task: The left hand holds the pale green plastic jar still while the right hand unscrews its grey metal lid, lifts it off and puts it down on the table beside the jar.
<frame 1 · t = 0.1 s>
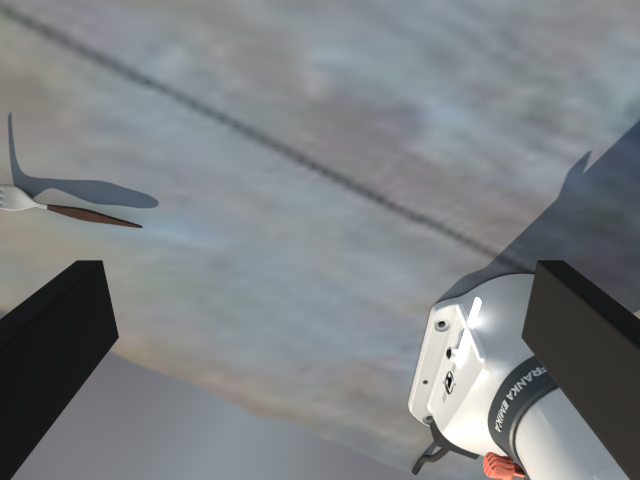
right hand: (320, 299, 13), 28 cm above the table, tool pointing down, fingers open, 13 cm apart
fork: (63, 207, 41), on the table
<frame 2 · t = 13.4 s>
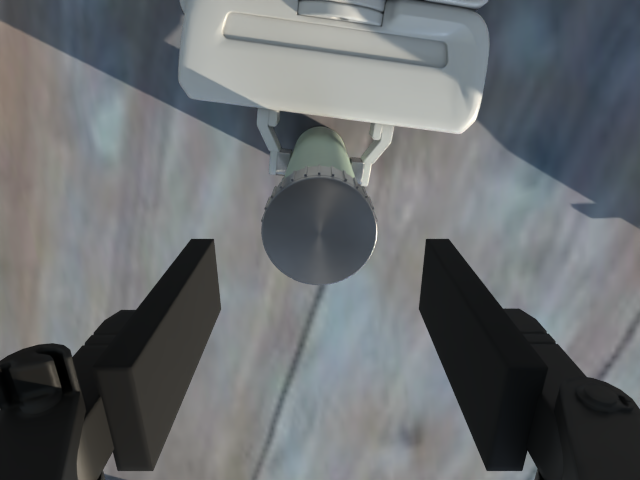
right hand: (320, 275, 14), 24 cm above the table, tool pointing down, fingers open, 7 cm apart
left hand: (318, 179, 31), fingers closed on jar, 4 cm apart
jar: (319, 152, 37), on the table, touching left hand
lid: (319, 231, 18), point 20 cm above the table, screwed on, not yet turned
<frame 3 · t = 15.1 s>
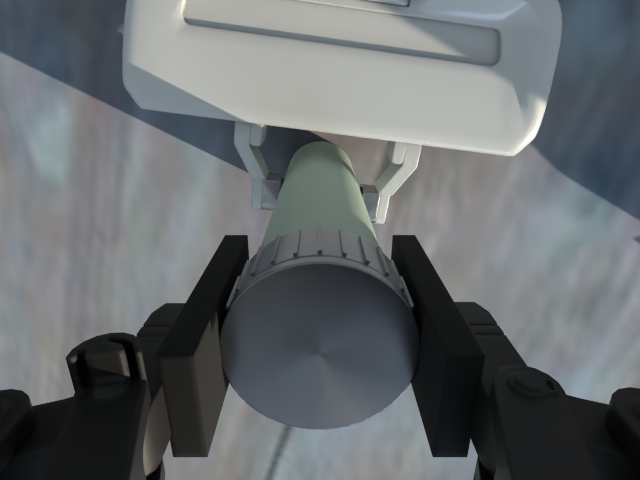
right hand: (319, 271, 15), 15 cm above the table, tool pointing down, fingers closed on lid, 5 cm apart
left hand: (318, 213, 23), fingers closed on jar, 4 cm apart
jar: (320, 173, 29), on the table, touching left hand
lid: (320, 345, 11), point 20 cm above the table, screwed on, not yet turned, touching right hand
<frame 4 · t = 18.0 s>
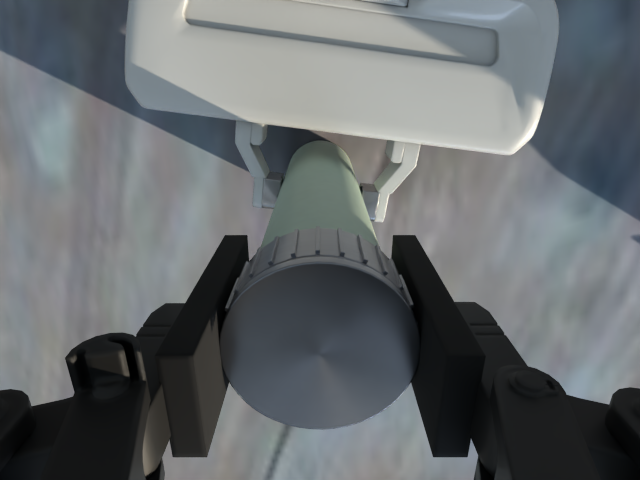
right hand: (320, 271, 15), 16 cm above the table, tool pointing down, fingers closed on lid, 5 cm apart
left hand: (318, 212, 24), fingers closed on jar, 4 cm apart
jar: (320, 172, 29), on the table, touching left hand
lid: (320, 345, 11), point 20 cm above the table, turned 81° so far, risen 0.2 cm, still on its thread, touching right hand
when the right hand's fingers open (0 cm above the table, at t = 24.4 s): lid drops 2 cm, point 2 cm above the table.
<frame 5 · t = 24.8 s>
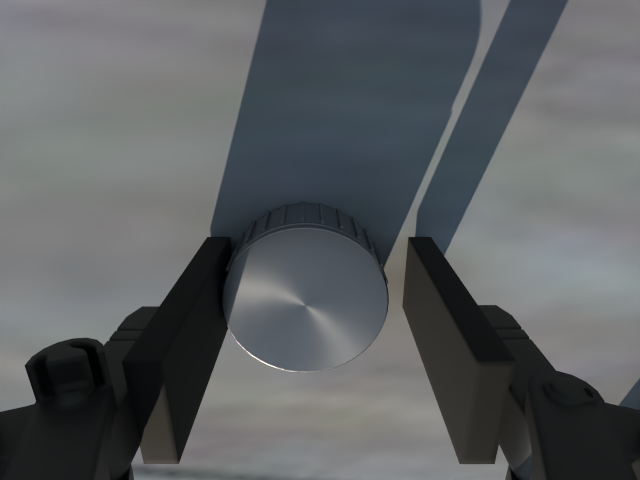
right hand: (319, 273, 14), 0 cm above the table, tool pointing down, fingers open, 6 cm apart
lid: (305, 299, 13), point 2 cm above the table, off its thread
when the left hand's fingers open (6 cm above the table, at t = 25.5 s): jar stays where it is, on the table.
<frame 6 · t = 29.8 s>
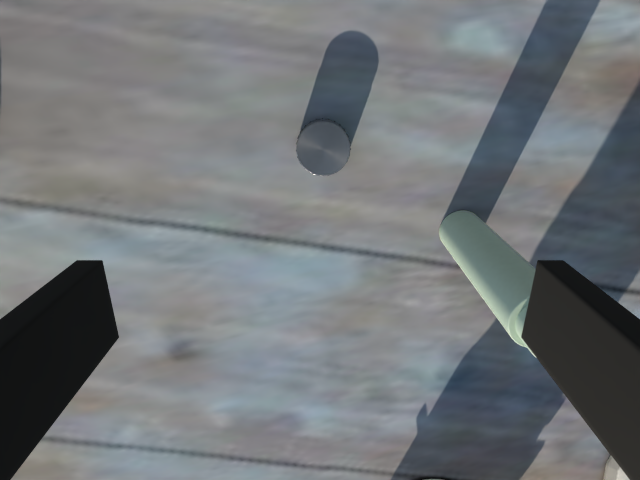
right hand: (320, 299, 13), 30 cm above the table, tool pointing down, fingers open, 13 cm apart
jar: (460, 230, 44), on the table
lid: (323, 148, 39), point 2 cm above the table, off its thread
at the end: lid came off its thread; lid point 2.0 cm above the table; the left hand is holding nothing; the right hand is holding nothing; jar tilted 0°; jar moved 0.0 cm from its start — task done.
